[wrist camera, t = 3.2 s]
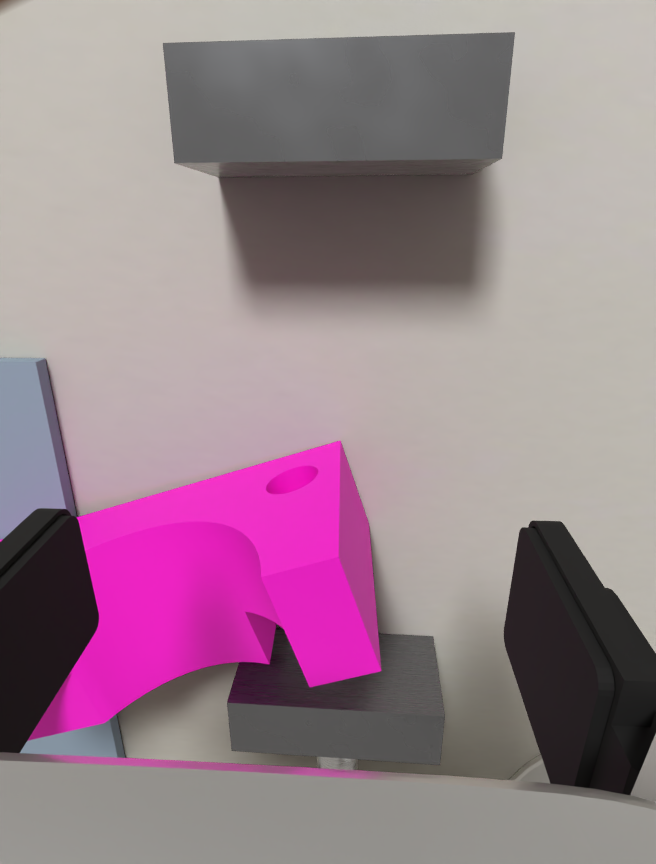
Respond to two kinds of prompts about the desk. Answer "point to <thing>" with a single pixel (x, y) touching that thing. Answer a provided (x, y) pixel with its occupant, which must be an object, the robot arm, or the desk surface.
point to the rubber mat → (40, 505)
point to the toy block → (225, 583)
